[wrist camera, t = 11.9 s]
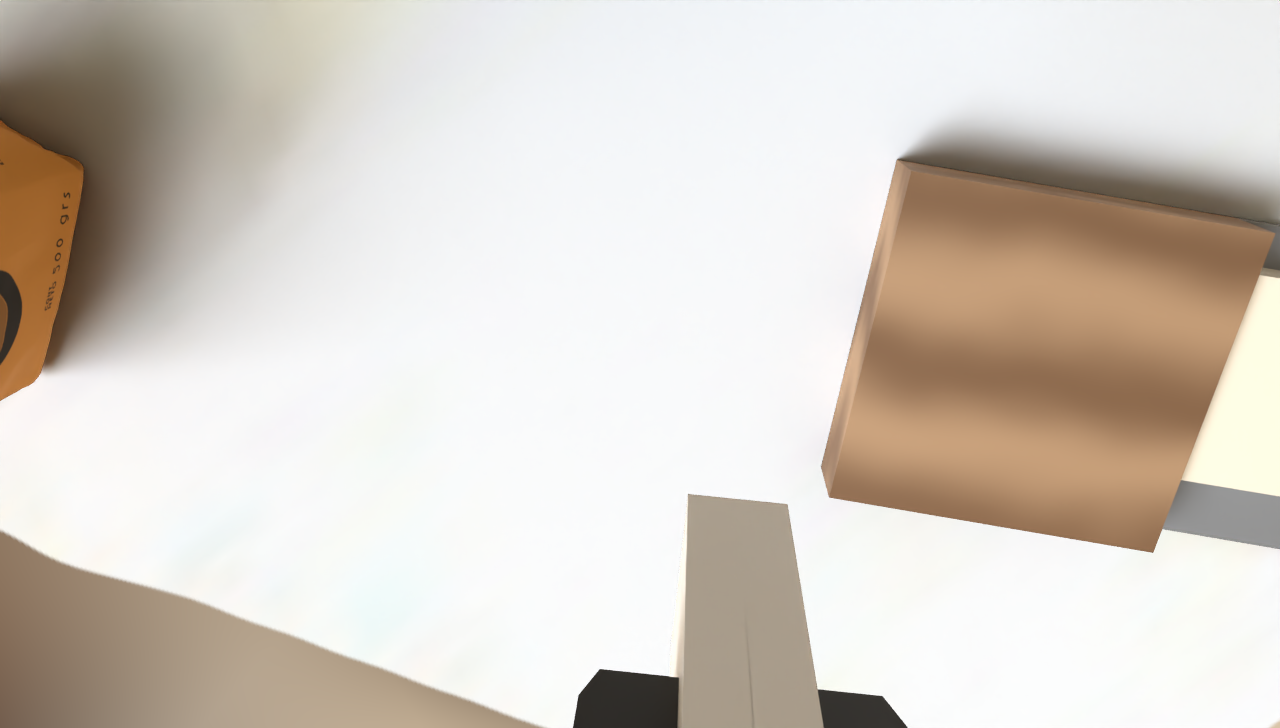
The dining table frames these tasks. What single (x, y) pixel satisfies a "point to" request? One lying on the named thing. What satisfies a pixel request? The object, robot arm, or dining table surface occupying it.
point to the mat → (1227, 507)
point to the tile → (1246, 404)
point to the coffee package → (32, 251)
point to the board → (1036, 354)
